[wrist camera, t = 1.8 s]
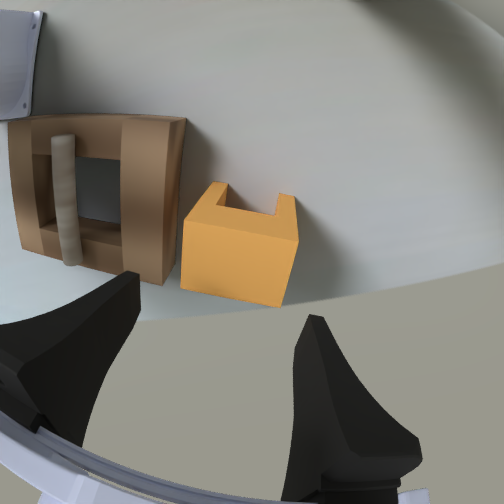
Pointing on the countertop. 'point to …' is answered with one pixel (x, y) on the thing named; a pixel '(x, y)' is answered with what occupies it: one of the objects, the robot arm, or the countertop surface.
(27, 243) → the square wooden frame
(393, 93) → the countertop surface
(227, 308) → the countertop surface
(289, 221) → the orange notched block
